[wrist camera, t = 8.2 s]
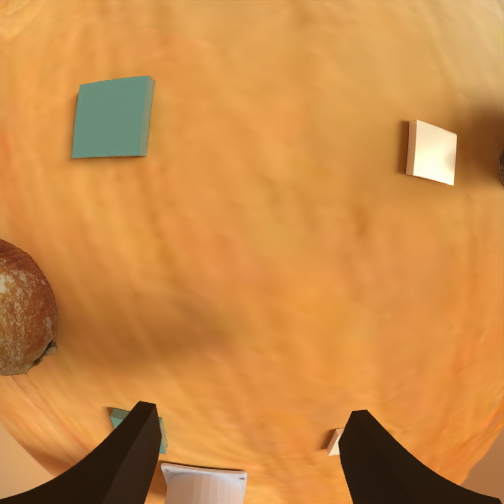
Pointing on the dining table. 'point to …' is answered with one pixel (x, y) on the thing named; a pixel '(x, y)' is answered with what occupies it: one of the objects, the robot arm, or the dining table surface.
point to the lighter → (501, 166)
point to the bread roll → (24, 312)
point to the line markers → (136, 140)
